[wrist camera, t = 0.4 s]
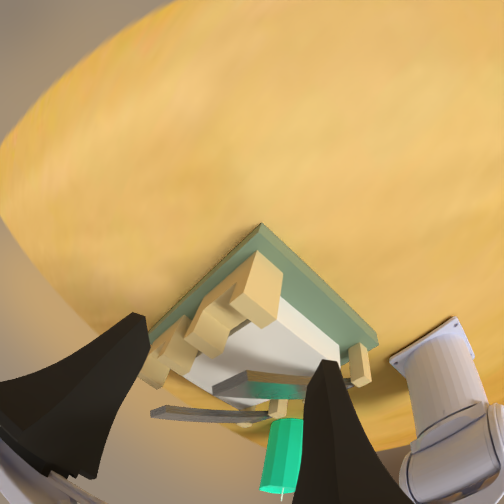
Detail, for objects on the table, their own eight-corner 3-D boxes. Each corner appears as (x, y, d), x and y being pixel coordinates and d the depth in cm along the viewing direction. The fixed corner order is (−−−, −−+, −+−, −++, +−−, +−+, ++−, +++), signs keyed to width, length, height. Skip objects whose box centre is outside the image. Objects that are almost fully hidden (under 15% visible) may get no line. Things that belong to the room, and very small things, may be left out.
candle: (272, 432, 34) (259, 501, 24) (269, 417, 32) (254, 495, 21) (311, 433, 33) (304, 503, 23) (313, 418, 30) (306, 498, 20)
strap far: (273, 409, 23) (275, 417, 23) (253, 416, 24) (254, 423, 24) (165, 403, 17) (166, 413, 16) (150, 409, 18) (150, 418, 18)
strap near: (353, 377, 19) (355, 386, 18) (323, 390, 20) (325, 399, 20) (246, 367, 13) (248, 382, 12) (211, 384, 14) (213, 397, 13)
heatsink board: (376, 332, 21) (387, 388, 16) (248, 395, 29) (239, 438, 24) (261, 222, 18) (244, 271, 13) (150, 329, 26) (124, 372, 21)
